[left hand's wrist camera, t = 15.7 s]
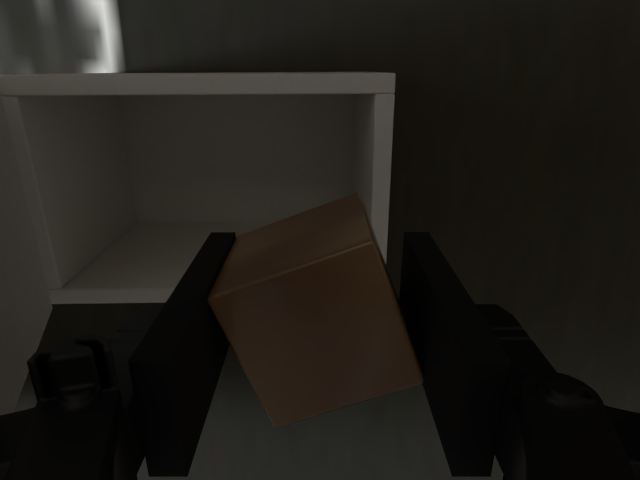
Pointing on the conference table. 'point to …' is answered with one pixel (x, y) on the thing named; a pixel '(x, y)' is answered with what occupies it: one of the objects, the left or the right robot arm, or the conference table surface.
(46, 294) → the lid
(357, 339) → the block
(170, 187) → the chest
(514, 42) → the conference table surface
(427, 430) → the conference table surface
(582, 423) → the left robot arm
